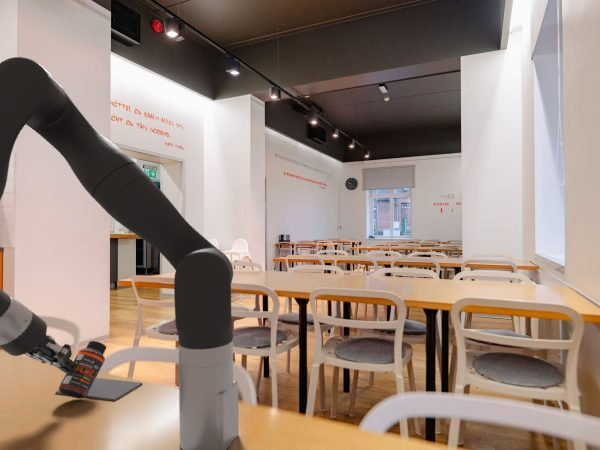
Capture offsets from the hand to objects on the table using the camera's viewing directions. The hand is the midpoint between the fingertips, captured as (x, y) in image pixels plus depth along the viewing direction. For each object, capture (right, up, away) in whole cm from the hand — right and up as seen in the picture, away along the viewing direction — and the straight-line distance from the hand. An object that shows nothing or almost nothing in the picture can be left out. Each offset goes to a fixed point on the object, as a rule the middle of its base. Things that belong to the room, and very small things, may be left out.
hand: (71, 369), depth 83 cm
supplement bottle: (0, -6, 0) cm, 6 cm away
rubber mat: (+2, -7, +8) cm, 11 cm away
